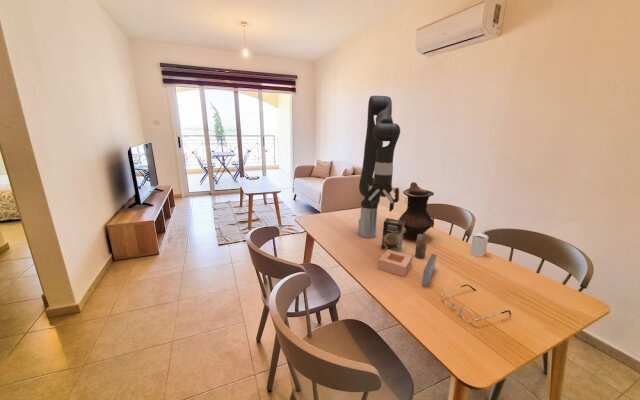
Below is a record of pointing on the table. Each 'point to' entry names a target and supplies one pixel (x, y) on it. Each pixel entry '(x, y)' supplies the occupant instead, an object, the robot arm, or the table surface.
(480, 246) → the drinking glass
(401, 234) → the coffee box
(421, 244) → the dowel
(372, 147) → the robot arm
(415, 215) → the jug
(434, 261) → the rail base
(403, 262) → the holder
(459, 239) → the table surface
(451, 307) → the eyeglasses
